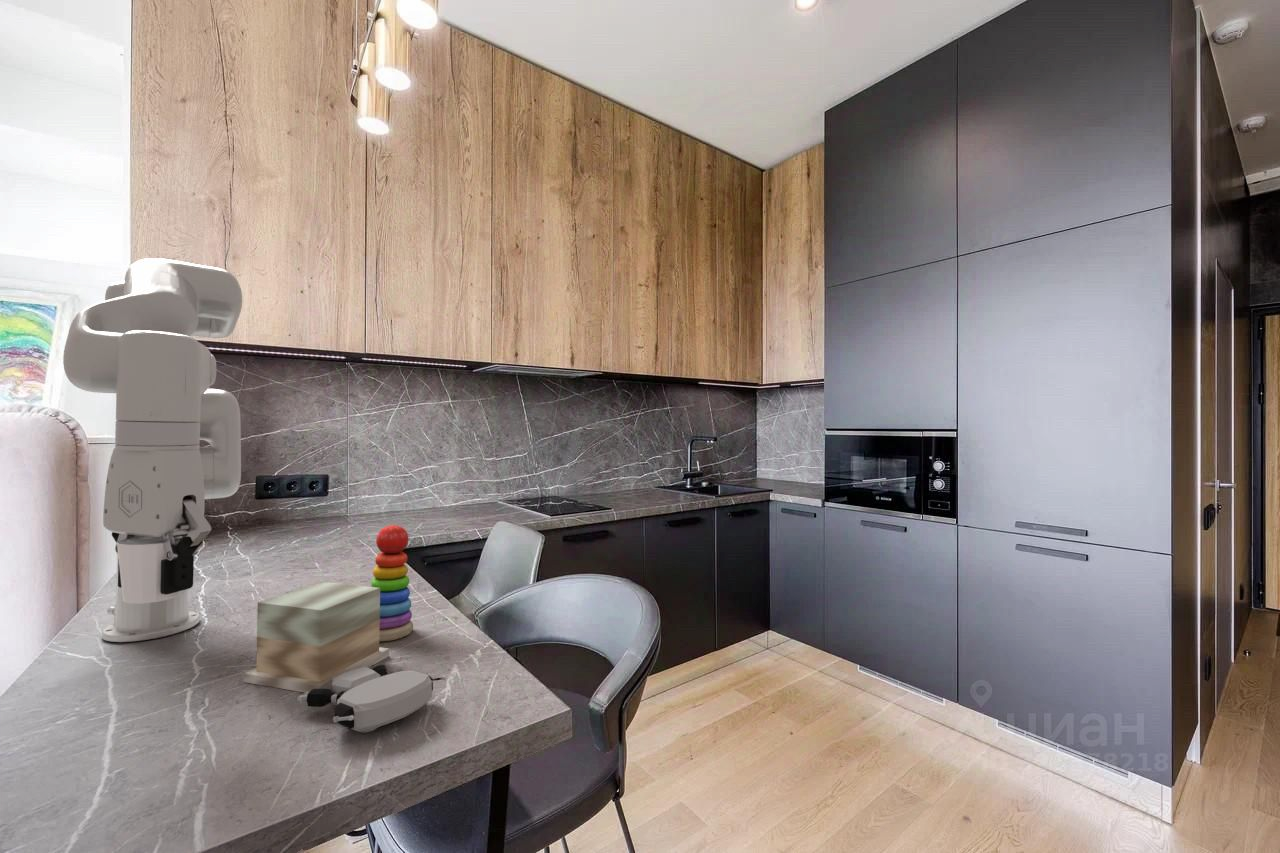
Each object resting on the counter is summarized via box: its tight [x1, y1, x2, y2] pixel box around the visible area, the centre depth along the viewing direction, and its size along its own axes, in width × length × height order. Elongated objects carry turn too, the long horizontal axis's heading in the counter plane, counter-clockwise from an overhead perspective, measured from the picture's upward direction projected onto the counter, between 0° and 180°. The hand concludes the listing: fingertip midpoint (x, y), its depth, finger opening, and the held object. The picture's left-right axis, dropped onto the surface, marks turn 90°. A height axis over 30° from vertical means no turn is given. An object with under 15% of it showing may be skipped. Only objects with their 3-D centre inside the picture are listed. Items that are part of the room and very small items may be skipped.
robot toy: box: [296, 664, 448, 734], centre depth 68 cm, size 12×4×15 cm
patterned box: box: [243, 581, 390, 694], centre depth 80 cm, size 13×13×11 cm
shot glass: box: [117, 536, 187, 604], centre depth 65 cm, size 7×7×7 cm
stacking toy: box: [370, 524, 414, 642], centre depth 93 cm, size 8×8×19 cm
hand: (155, 586), depth 65 cm, fingers closed on shot glass, 6 cm apart
